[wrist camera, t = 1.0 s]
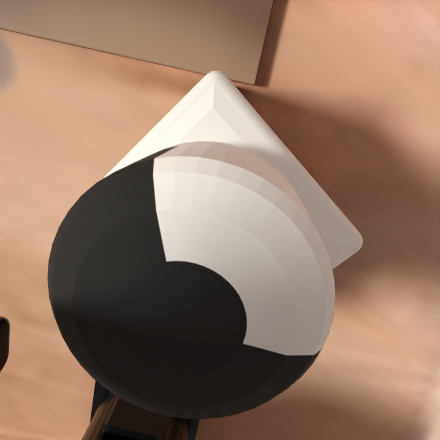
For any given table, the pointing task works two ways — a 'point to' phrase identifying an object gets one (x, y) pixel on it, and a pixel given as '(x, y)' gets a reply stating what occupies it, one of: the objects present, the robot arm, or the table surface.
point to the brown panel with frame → (153, 30)
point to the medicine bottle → (200, 263)
